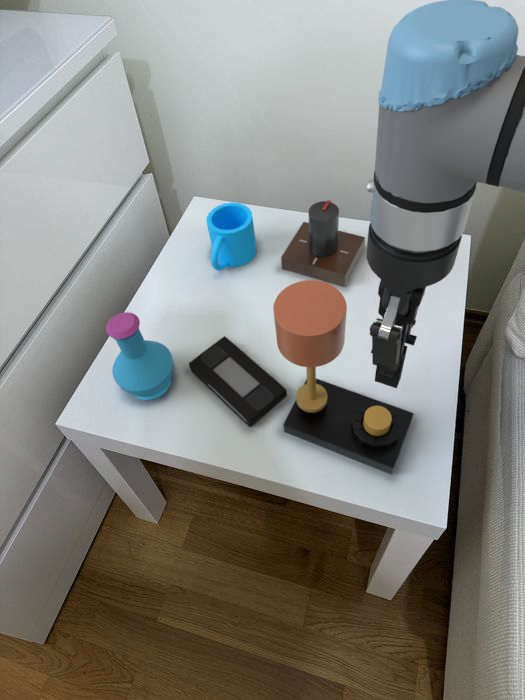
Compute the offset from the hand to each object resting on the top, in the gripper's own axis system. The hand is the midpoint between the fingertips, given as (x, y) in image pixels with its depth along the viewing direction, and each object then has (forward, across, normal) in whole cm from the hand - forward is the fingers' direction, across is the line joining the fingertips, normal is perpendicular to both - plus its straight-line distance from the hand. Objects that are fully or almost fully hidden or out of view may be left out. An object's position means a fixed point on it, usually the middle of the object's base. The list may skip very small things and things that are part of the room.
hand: (387, 379), depth 61 cm
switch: (+11, 0, 0) cm, 11 cm away
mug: (+14, -24, -36) cm, 46 cm away
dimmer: (+11, -30, -20) cm, 38 cm away
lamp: (+10, 0, -10) cm, 14 cm away
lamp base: (+14, 0, -4) cm, 15 cm away
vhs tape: (+14, 0, -22) cm, 27 cm away
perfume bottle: (+14, +5, -35) cm, 38 cm away
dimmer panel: (+14, -30, -20) cm, 39 cm away
